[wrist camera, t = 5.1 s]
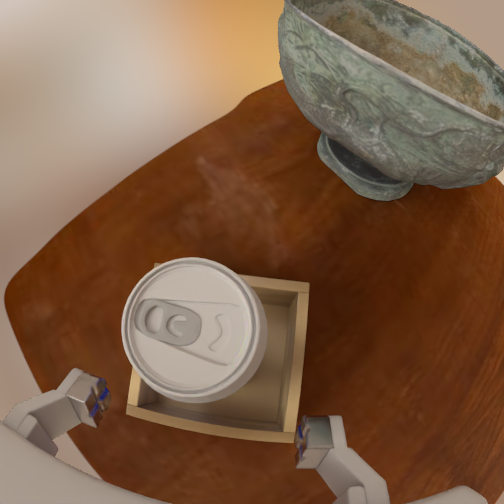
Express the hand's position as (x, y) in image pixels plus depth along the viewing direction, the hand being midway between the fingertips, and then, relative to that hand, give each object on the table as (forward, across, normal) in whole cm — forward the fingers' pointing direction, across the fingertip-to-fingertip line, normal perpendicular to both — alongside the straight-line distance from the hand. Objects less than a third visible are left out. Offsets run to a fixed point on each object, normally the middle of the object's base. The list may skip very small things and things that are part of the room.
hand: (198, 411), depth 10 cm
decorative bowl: (+28, -14, -10) cm, 33 cm away
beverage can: (+11, 0, +7) cm, 13 cm away
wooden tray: (+11, 0, +7) cm, 13 cm away
